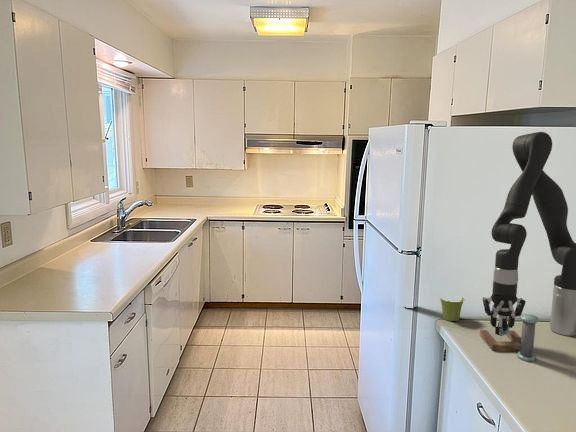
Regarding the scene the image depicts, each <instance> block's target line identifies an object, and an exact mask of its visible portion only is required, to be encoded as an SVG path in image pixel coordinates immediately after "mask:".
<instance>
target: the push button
mask: <svg viewBox="0 0 576 432" xmlns="http://www.w3.org/2000/svg"><path fill="white" fill-rule="evenodd" d="M511 313H512V311H510V309H509V308H501V309H500V311H499V312H498V314H497V316H498V317H499V318H498V323H497V325H496V327H494V329H495V330H494V334H495V335H497V336H500V337H502V336H507V334H508V333H509V331H510V329H511V328H510V327H509V326H508V317H509V316H510V315H511Z"/></svg>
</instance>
